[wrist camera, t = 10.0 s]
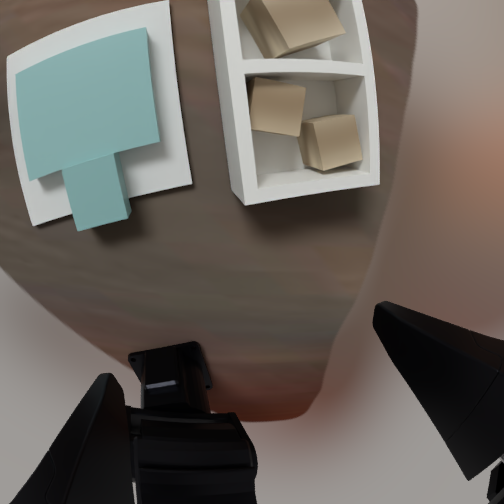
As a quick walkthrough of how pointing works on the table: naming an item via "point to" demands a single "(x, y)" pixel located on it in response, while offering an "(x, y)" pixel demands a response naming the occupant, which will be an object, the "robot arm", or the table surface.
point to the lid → (89, 120)
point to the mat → (132, 160)
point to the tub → (315, 105)
